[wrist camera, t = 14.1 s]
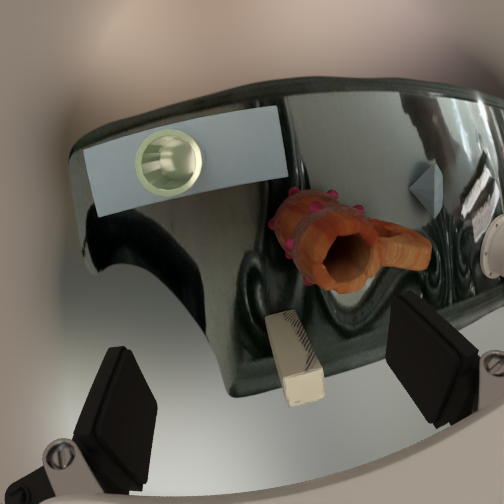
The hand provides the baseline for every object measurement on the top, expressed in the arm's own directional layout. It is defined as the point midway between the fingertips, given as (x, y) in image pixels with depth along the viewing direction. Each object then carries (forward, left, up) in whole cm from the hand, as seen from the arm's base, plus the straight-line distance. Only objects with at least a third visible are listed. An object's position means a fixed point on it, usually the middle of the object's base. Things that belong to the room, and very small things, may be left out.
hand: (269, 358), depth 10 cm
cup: (+3, -7, -16) cm, 18 cm away
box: (-4, +17, -26) cm, 32 cm away
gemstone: (-27, +1, -26) cm, 38 cm away
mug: (-11, +3, -26) cm, 29 cm away
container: (+3, -7, -26) cm, 27 cm away
